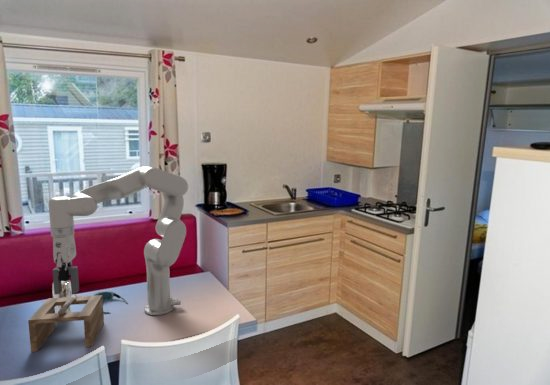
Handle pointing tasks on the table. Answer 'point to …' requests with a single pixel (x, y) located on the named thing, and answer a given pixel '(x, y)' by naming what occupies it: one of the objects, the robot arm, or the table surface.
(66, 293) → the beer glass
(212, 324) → the table surface
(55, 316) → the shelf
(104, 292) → the sunglasses
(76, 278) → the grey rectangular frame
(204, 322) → the table surface
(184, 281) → the table surface
